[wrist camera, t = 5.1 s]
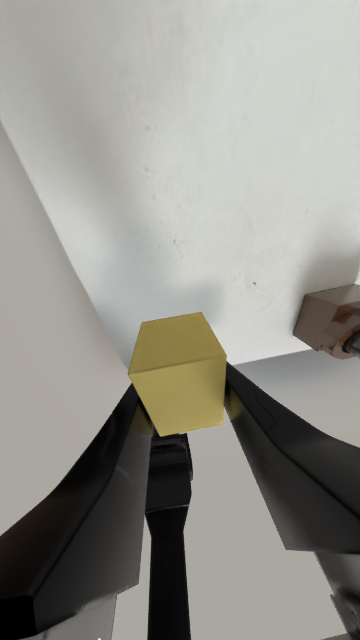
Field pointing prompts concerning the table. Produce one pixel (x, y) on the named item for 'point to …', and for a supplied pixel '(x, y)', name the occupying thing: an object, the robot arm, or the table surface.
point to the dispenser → (330, 319)
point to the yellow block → (179, 373)
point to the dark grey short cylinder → (353, 344)
